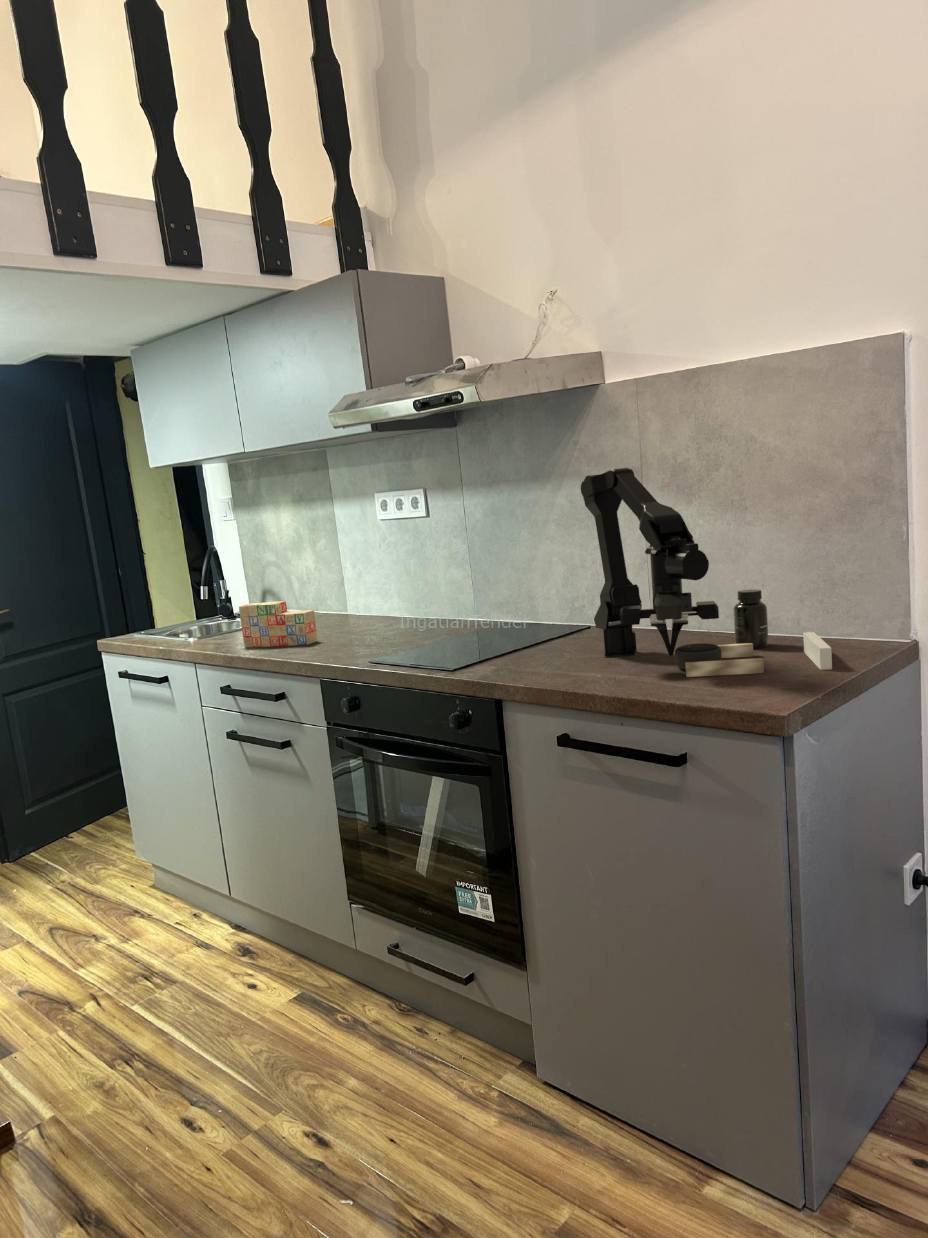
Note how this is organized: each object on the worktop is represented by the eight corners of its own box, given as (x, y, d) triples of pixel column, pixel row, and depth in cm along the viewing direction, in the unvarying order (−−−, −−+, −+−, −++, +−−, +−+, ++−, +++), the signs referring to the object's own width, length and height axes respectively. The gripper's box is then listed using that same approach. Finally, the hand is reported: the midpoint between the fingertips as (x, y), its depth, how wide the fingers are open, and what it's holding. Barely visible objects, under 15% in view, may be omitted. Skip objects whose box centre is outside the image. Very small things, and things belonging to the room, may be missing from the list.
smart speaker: (728, 662, 180) (727, 643, 179) (712, 672, 173) (711, 652, 172) (685, 661, 185) (684, 642, 184) (668, 670, 178) (667, 651, 177)
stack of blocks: (318, 641, 261) (313, 599, 259) (307, 645, 255) (301, 602, 254) (255, 643, 269) (250, 602, 267) (243, 647, 263) (238, 605, 262)
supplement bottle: (770, 648, 190) (767, 591, 188) (736, 650, 191) (733, 594, 190) (766, 642, 196) (764, 587, 195) (734, 644, 198) (731, 589, 196)
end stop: (820, 669, 166) (819, 648, 166) (804, 652, 183) (803, 632, 182) (832, 669, 166) (831, 647, 165) (814, 651, 182) (813, 631, 182)
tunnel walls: (686, 677, 171) (685, 664, 171) (682, 659, 188) (681, 647, 187) (763, 672, 168) (763, 659, 168) (752, 655, 185) (751, 643, 184)
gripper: (616, 585, 171) (622, 666, 174) (718, 578, 167) (723, 661, 170) (618, 578, 182) (623, 654, 184) (714, 572, 178) (718, 650, 180)
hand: (671, 655), depth 179 cm, fingers closed
